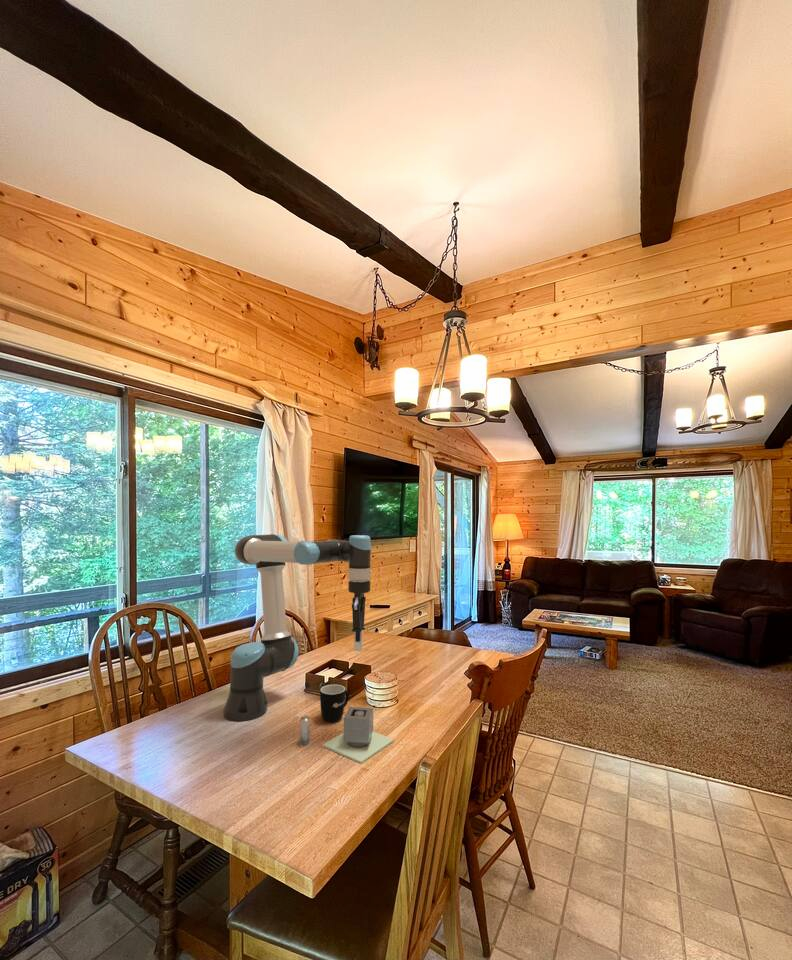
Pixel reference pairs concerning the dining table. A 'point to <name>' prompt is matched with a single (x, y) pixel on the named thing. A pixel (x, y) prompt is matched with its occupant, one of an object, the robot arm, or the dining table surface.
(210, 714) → the dining table surface
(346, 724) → the collar
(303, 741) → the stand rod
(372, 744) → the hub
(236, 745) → the dining table surface
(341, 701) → the mug
